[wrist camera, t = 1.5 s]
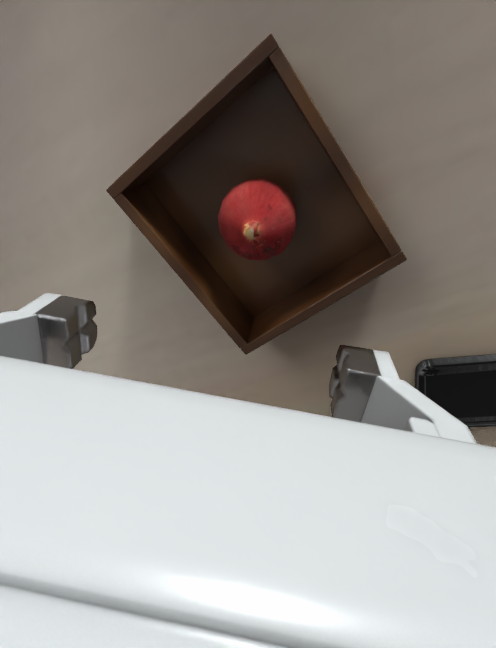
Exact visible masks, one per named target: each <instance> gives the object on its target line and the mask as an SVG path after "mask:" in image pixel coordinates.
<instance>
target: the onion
mask: <svg viewBox="0 0 496 648" xmlns="http://www.w3.org/2000/svg"><path fill="white" fill-rule="evenodd" d="M218 222H219V230H220V233H221V235H222V237H223V239H224V241H225V243H226V245H227V246H228V247H229V248H230V249H231V250H232V251H233V252H234V253H235V254H236V255H239V256H241V257H243V258H246V259H248V260H267V259H269V258H272V257H274V256H276V255H278V254H281V253H282V251H283V250H284V249H285V248H286V247H287V246H288V244H289V243H290V242H291V241H292V238H293V235H294V231H295V228H296V225H297V220H296V208H295V206H294V204H293V202H292V200H291V198H290V196H289V194H288V193H287V192H286V191H285V190H284V189H283V188H282V187H281V186H279V185H278V184H277V183H274V182H271V181H269V180H266V179H263V178H262V179H251V180H246V181H244V182H242V183H240V184H238V185H236V186H235V187H233V188H232V189H231V190H230V192H229V193H228V194H227V195H226V196H225V198H224V199H223V201H222V204H221V208H220V211H219V214H218Z"/></svg>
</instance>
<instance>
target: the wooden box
mask: <svg viewBox="0 0 496 648" xmlns="http://www.w3.org/2000/svg"><path fill="white" fill-rule="evenodd" d="M262 178H263V179H266V180H269V181H271V182H274V183H277V184H278V185H279V186H281V187H282V188H283V189H284V190H285V191H286V192H287V193H288V194H289V196H290V198H291V200H292V202H293V204H294V206H295V208H296V220H297V225H296V228H295V231H294V235H293V238H292V241H291V242H290V243H289V244H288V246H287V247H286V248H285V249H284V250H283V251H282V253H281V254H278V255H276V256H274V257H272V258H269V259H267V260H248V259H246V258H243V257H241V256H239V255H236V254H235V253H234V252H233V251H232V250H231V249H230V248H229V247H228V246H227V245H226V243H225V241H224V239H223V237H222V235H221V233H220V230H219V222H218V214H219V211H220V208H221V204H222V201H223V199H224V198H225V196H226V195H227V194H228V193H229V192H230V190H231V189H232V188H233V187H235V186H236V185H238V184H240V183H242V182H244V181H246V180H251V179H262ZM106 191H107V192H108V193H109V194H110V195H111V197H112V198H113V199H114V200H115V201H116V203H117V204H118V205H119V206H120V207H121V208H122V210H123V211H124V212H125V213H126V214H127V216H128V217H129V218H130V219H131V220H132V221H133V223H134V224H135V225H136V226H137V227H138V228H139V230H140V231H141V232H142V233H143V234H144V236H145V237H146V238H147V239H148V240H149V241H150V243H151V244H152V245H153V246H154V247H155V249H156V250H157V251H158V252H159V253H160V254H161V256H162V257H163V258H164V259H165V260H166V262H167V263H168V264H169V265H170V266H171V267H172V269H173V270H174V271H175V272H176V273H177V274H178V276H179V277H180V278H181V279H182V280H183V282H184V283H185V284H186V285H187V286H188V287H189V289H190V290H191V291H192V292H193V293H194V295H195V296H196V297H197V298H198V299H199V300H200V302H201V303H202V304H203V305H204V306H205V308H206V309H207V310H208V311H209V312H210V313H211V315H212V316H213V317H214V318H215V319H216V320H217V322H218V323H219V324H220V325H221V326H222V328H223V329H224V330H225V331H226V332H227V333H228V335H229V336H230V337H231V338H232V339H233V341H234V342H235V343H236V344H237V345H238V346H239V348H241V350H242V351H243V352H244V353H245V354H248V353H250V352H251V351H253V350H255V349H256V348H258V347H260V346H261V345H263V344H265V343H267V342H268V341H270V340H272V339H273V338H275V337H277V336H278V335H280V334H282V333H283V332H285V331H287V330H289V329H290V328H292V327H294V326H295V325H297V324H299V323H300V322H302V321H304V320H306V319H307V318H309V317H311V316H312V315H314V314H316V313H317V312H319V311H321V310H322V309H324V308H326V307H328V306H329V305H331V304H333V303H334V302H336V301H338V300H339V299H341V298H343V297H345V296H346V295H348V294H350V293H351V292H353V291H355V290H356V289H358V288H360V287H361V286H363V285H365V284H367V283H368V282H370V281H372V280H373V279H375V278H377V277H378V276H380V275H382V274H383V273H385V272H387V271H389V270H390V269H392V268H394V267H395V266H397V265H399V264H400V263H402V262H404V261H406V260H407V259H406V257H405V255H404V254H403V252H402V251H401V249H400V247H399V245H398V244H397V242H396V240H395V239H394V237H393V235H392V234H391V232H390V230H389V229H388V227H387V225H386V224H385V222H384V220H383V219H382V217H381V215H380V214H379V212H378V210H377V209H376V207H375V205H374V204H373V202H372V200H371V199H370V197H369V195H368V194H367V192H366V190H365V189H364V187H363V185H362V184H361V182H360V180H359V179H358V177H357V175H356V174H355V172H354V170H353V169H352V167H351V165H350V164H349V162H348V160H347V159H346V157H345V155H344V154H343V152H342V150H341V149H340V147H339V145H338V144H337V142H336V140H335V139H334V137H333V135H332V134H331V132H330V130H329V129H328V127H327V125H326V124H325V122H324V120H323V119H322V117H321V115H320V114H319V112H318V110H317V109H316V107H315V105H314V104H313V102H312V100H311V99H310V97H309V95H308V94H307V92H306V90H305V89H304V87H303V85H302V84H301V82H300V80H299V79H298V77H297V75H296V74H295V72H294V70H293V69H292V67H291V65H290V64H289V62H288V60H287V59H286V57H285V55H284V54H283V52H282V50H281V49H280V48H279V45H278V44H277V42H276V40H275V39H274V37H273V35H272V34H270V35H269V36H268V37H267V38H266V39H265V40H263V41H262V42H261V43H260V44H259V45H258V46H257V47H256V48H255V49H254V50H253V51H252V52H251V53H250V54H249V55H248V56H247V57H246V58H245V59H243V60H242V61H241V62H240V63H239V64H238V65H237V66H236V67H235V68H234V69H233V70H232V71H231V72H230V73H229V74H228V75H227V76H226V77H225V78H224V79H222V80H221V81H220V82H219V83H218V84H217V85H216V86H215V87H214V88H213V89H212V90H211V91H210V92H209V93H208V94H207V95H206V96H205V97H204V98H202V99H201V100H200V101H199V102H198V103H197V104H196V105H195V106H194V107H193V108H192V109H191V110H190V111H189V112H188V113H187V114H186V115H185V116H184V117H182V118H181V119H180V120H179V121H178V122H177V123H176V124H175V125H174V126H173V127H172V128H171V129H170V130H169V131H168V132H167V133H166V134H165V135H164V136H162V137H161V138H160V139H159V140H158V141H157V142H156V143H155V144H154V145H153V146H152V147H151V148H150V149H149V150H148V151H147V152H146V153H145V154H144V155H142V156H141V157H140V158H139V159H138V160H137V161H136V162H135V163H134V164H133V165H132V166H131V167H130V168H129V169H128V170H127V171H126V172H125V173H124V174H122V175H121V176H120V177H119V178H118V179H117V180H116V181H115V182H114V183H113V184H112V185H111V186H110V187H109V188H108V189H107V190H106Z"/></svg>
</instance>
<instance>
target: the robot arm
mask: <svg viewBox="0 0 496 648" xmlns="http://www.w3.org/2000/svg"><path fill="white" fill-rule="evenodd" d="M95 315H96V307H95V304H94V302H93V301H89V300H84V299H79V298H74V297H68V296H63V295H59V294H52V293H45V294H44V295H42V296H41V297H39V298H37V299H36V300H34V301H33V302H31V303H29V304H28V305H26V306H24V307H23V308H21V309H20V310H18V311H8V312H3V313H0V648H496V447H490V446H485V445H480V444H477V442H476V441H475V439H474V437H473V435H472V434H471V432H470V430H469V428H468V426H466V425H465V424H464V423H462V422H461V421H459V420H458V419H457V418H455V417H454V416H453V415H451V414H450V413H448V412H447V411H446V410H444V409H443V408H442V407H440V406H439V405H437V404H436V403H435V402H433V401H432V400H430V399H429V398H428V397H426V396H425V395H424V394H422V393H421V392H419V391H418V390H417V389H415V388H414V387H413V386H411V385H410V384H408V383H407V382H406V381H403V380H400V379H399V376H398V374H397V371H396V369H395V367H394V364H393V362H392V359H391V357H390V354H389V353H388V352H385V351H377V350H372V349H366V348H359V347H353V346H346V345H340V346H339V349H338V351H337V355H336V360H337V365H336V366H335V367H334V368H333V369H332V373H331V377H330V383H329V396H330V397H331V398H332V401H331V405H330V406H331V414H332V417H328V416H323V415H317V414H312V413H307V412H301V411H296V410H290V409H285V408H280V407H274V406H269V405H263V404H258V403H253V402H247V401H242V400H236V399H231V398H225V397H220V396H215V395H209V394H204V393H199V392H193V391H188V390H182V389H177V388H172V387H166V386H161V385H156V384H150V383H145V382H139V381H134V380H129V379H123V378H118V377H113V376H107V375H102V374H96V373H91V372H86V371H80V370H75V369H73V368H74V367H75V366H76V365H77V364H78V363H79V362H80V361H81V360H82V357H81V355H82V354H85V353H88V352H89V351H90V350H91V349H92V348H93V346H94V344H95V342H96V339H97V325H96V324H95V323H94V321H93V320H92V319H93V318H94V316H95Z"/></svg>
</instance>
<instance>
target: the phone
mask: <svg viewBox="0 0 496 648" xmlns="http://www.w3.org/2000/svg"><path fill="white" fill-rule="evenodd" d="M415 389H417V390H418V391H419V392H421V393H422V394H424V395H425V396H426V397H428V398H429V399H430V400H432V401H433V402H435V403H436V404H437V405H439V406H440V407H442V408H443V409H444V410H446V411H447V412H448V413H450V414H451V415H453V416H454V417H455V418H457V419H458V420H459V421H461V422H462V423H464V424H465V425H466V426H468V427H488V426H496V354H491V355H478V356H465V357H452V358H439V359H428V360H424V361H422V362H420V363H419V364H418V365H417V367H416V373H415Z"/></svg>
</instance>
